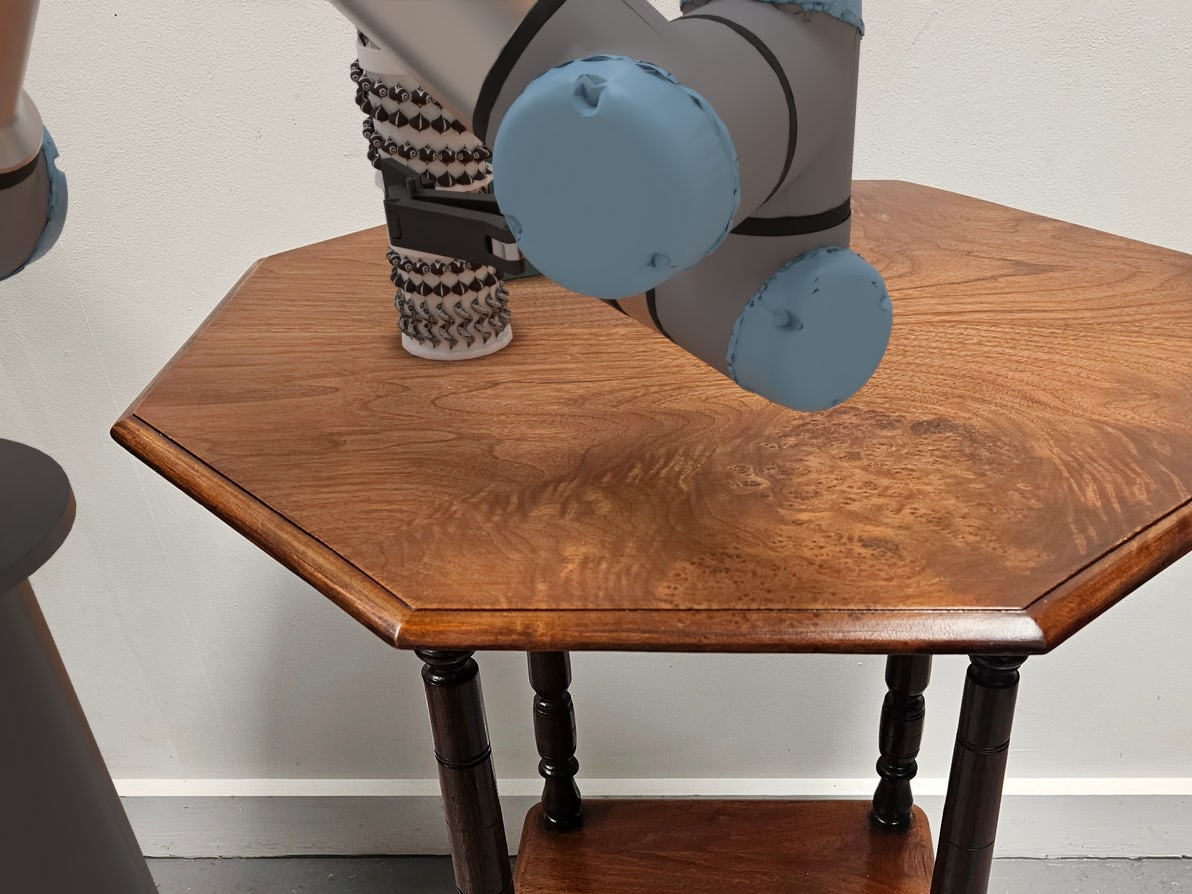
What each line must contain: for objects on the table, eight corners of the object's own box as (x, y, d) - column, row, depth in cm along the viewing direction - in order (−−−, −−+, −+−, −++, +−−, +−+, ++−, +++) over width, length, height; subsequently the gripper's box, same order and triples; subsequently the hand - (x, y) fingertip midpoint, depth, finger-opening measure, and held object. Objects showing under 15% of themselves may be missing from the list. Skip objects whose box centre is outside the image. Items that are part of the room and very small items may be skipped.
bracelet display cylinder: (437, 309, 100) (383, -54, 85) (539, 325, 98) (503, -47, 82) (372, 351, 94) (300, -34, 78) (479, 369, 91) (427, -26, 76)
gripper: (458, 375, 64) (313, 259, 78) (841, 276, 75) (654, 190, 88) (436, 224, 59) (286, 130, 73) (848, 142, 70) (650, 73, 84)
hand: (488, 163), depth 81 cm, fingers open, 13 cm apart
